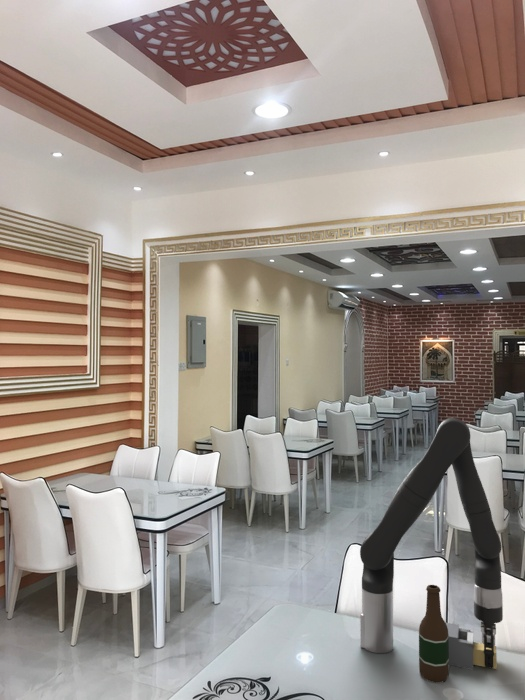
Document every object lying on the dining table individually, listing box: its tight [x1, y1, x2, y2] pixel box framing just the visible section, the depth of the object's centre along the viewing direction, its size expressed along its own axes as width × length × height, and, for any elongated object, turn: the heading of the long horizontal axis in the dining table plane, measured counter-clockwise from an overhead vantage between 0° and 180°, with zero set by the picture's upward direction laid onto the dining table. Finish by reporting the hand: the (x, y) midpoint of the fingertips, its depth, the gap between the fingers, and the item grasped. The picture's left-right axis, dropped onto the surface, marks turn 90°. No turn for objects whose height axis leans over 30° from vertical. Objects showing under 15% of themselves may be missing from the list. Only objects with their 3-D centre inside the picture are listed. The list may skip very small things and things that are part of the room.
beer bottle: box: [418, 584, 450, 684], centre depth 150 cm, size 8×8×24 cm
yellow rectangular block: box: [473, 641, 498, 670], centre depth 155 cm, size 9×4×4 cm, turn 68°
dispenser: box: [445, 621, 475, 670], centre depth 158 cm, size 12×8×8 cm
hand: (488, 661), depth 154 cm, fingers open, 5 cm apart
